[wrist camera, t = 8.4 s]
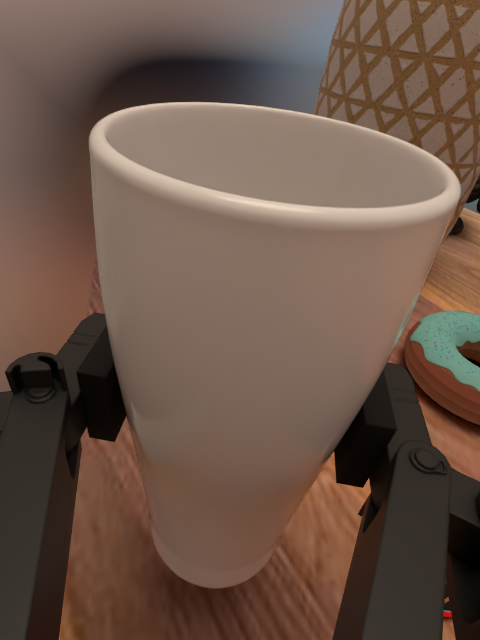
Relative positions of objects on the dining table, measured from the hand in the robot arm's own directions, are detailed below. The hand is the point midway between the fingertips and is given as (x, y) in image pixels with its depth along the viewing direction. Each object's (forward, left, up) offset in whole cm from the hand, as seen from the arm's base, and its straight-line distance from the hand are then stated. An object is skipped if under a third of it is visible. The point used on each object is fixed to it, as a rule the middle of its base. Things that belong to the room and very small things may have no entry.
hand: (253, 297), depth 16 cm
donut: (+19, +13, -14) cm, 27 cm away
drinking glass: (0, -5, -8) cm, 10 cm away
